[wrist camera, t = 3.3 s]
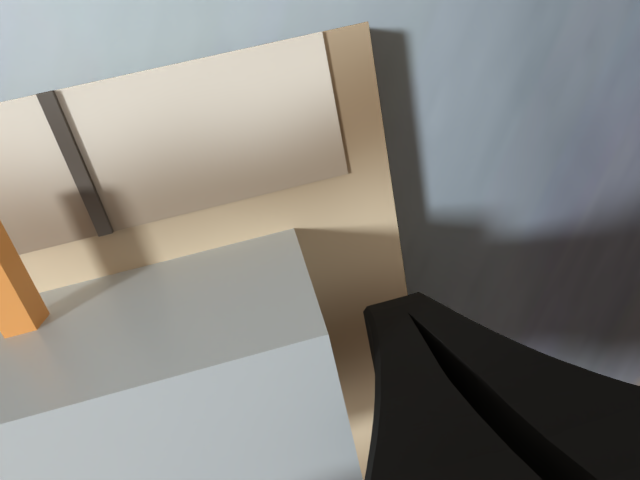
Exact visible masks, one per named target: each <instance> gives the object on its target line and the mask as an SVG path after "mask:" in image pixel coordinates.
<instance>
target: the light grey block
mask: <svg viewBox="0 0 640 480" xmlns="http://www.w3.org/2000/svg"><path fill="white" fill-rule="evenodd" d="M0 480H363V478H362V473H361V469H360V465H359V461H358V457H357V452H356V448H355V444H354V440H353V436H352V431H351V427H350V423H349V419H348V414H347V410H346V406H345V402H344V398H343V393H342V389H341V385H340V381H339V377H338V372H337V368H336V364H335V360H334V355H333V351H332V347H331V343H330V339H329V334H328V331H327V328H326V325H325V322H324V319H323V316H322V313H321V310H320V307H319V304H318V301H317V297H316V294H315V291H314V288H313V285H312V282H311V279H310V276H309V273H308V270H307V267H306V264H305V261H304V258H303V254H302V251H301V248H300V245H299V242H298V239H297V236H296V233H295V230H294V228H293V229H289V230H285V231H281V232H277V233H273V234H269V235H265V236H261V237H257V238H253V239H249V240H246V241H242V242H238V243H234V244H230V245H226V246H222V247H218V248H214V249H210V250H206V251H202V252H198V253H194V254H190V255H186V256H183V257H179V258H175V259H171V260H167V261H163V262H159V263H155V264H151V265H147V266H143V267H139V268H135V269H131V270H127V271H123V272H119V273H116V274H112V275H108V276H104V277H100V278H96V279H92V280H88V281H84V282H80V283H76V284H72V285H68V286H64V287H60V288H56V289H53V290H49V291H45V292H41V293H39V292H38V290H37V288H36V287H35V285H34V283H33V281H32V279H31V277H30V275H29V273H28V271H27V270H26V268H25V266H24V264H23V262H22V260H21V258H20V256H19V255H18V253H17V251H16V249H15V247H14V245H13V243H12V241H11V239H10V238H9V236H8V234H7V232H6V230H5V228H4V226H3V224H2V222H1V221H0Z"/></svg>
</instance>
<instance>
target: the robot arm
mask: <svg viewBox="0 0 640 480" xmlns="http://www.w3.org/2000/svg"><path fill="white" fill-rule="evenodd" d="M363 314H364V319H365V325H366V330H367V335H368V340H369V346H370V351H371V356H372V361H373V366H374V372H375V401H374V415H373V425H372V434H371V442H370V448H369V455H368V461H367V468H366V473H365V479H364V480H640V386H637V385H633V384H630V383H626V382H623V381H620V380H616V379H613V378H610V377H607V376H604V375H601V374H598V373H595V372H592V371H589V370H586V369H583V368H581V367H578V366H575V365H572V364H569V363H567V362H564V361H561V360H558V359H556V358H553V357H551V356H548V355H546V354H543V353H541V352H538V351H536V350H534V349H531V348H529V347H527V346H524V345H522V344H520V343H518V342H515V341H513V340H511V339H509V338H506V337H504V336H502V335H500V334H498V333H496V332H494V331H492V330H490V329H488V328H486V327H484V326H482V325H480V324H478V323H476V322H474V321H472V320H470V319H468V318H466V317H464V316H462V315H460V314H459V313H457V312H455V311H453V310H451V309H449V308H447V307H446V306H444V305H442V304H440V303H438V302H436V301H435V300H433V299H431V298H429V297H427V296H425V295H423V294H421V293H419V292H418V293H414V294H410V295H407V296H403V297H399V298H396V299H392V300H388V301H384V302H381V303H377V304H373V305H370V306H367V307H366V308H365V310H364V311H363Z"/></svg>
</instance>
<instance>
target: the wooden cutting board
mask: <svg viewBox="0 0 640 480" xmlns="http://www.w3.org/2000/svg"><path fill="white" fill-rule="evenodd" d="M0 221H1V222H2V224H3V226H4V228H5V230H6V232H7V234H8V236H9V238H10V239H11V241H12V243H13V245H14V247H15V249H16V251H17V253H18V255H19V256H20V258H21V260H22V262H23V264H24V266H25V268H26V270H27V271H28V273H29V275H30V277H31V279H32V281H33V283H34V285H35V287H36V288H37V290H38V292H39V293H41V292H45V291H49V290H53V289H56V288H60V287H64V286H68V285H72V284H76V283H80V282H84V281H88V280H92V279H96V278H100V277H104V276H108V275H112V274H116V273H119V272H123V271H127V270H131V269H135V268H139V267H143V266H147V265H151V264H155V263H159V262H163V261H167V260H171V259H175V258H179V257H183V256H186V255H190V254H194V253H198V252H202V251H206V250H210V249H214V248H218V247H222V246H226V245H230V244H234V243H238V242H242V241H246V240H249V239H253V238H257V237H261V236H265V235H269V234H273V233H277V232H281V231H285V230H289V229H293V228H294V230H295V233H296V236H297V239H298V242H299V245H300V248H301V251H302V254H303V258H304V261H305V264H306V267H307V270H308V273H309V276H310V279H311V282H312V285H313V288H314V291H315V294H316V297H317V301H318V304H319V307H320V310H321V313H322V316H323V319H324V322H325V325H326V328H327V331H328V334H329V339H330V343H331V347H332V351H333V355H334V360H335V364H336V368H337V372H338V377H339V381H340V385H341V389H342V393H343V398H344V402H345V406H346V410H347V414H348V419H349V423H350V427H351V431H352V436H353V440H354V444H355V448H356V452H357V457H358V461H359V465H360V469H361V473H362V478H363V480H364V479H365V473H366V468H367V461H368V455H369V448H370V442H371V434H372V425H373V415H374V401H375V372H374V366H373V361H372V356H371V351H370V346H369V340H368V335H367V330H366V325H365V319H364V314H363V311H364V310H365V308H366V307H367V306H370V305H373V304H377V303H381V302H384V301H388V300H392V299H396V298H399V297H403V296H407V295H408V294H407V287H406V280H405V273H404V266H403V259H402V252H401V245H400V238H399V231H398V224H397V217H396V211H395V204H394V197H393V190H392V183H391V176H390V169H389V162H388V155H387V148H386V141H385V134H384V127H383V120H382V114H381V107H380V100H379V93H378V86H377V79H376V72H375V65H374V58H373V51H372V44H371V37H370V30H369V24H368V22H364V23H359V24H355V25H350V26H346V27H341V28H337V29H332V30H328V31H323V32H318V33H313V34H308V35H304V36H299V37H295V38H290V39H286V40H281V41H277V42H272V43H268V44H263V45H258V46H254V47H249V48H245V49H240V50H236V51H231V52H227V53H222V54H218V55H213V56H208V57H204V58H199V59H195V60H190V61H186V62H181V63H177V64H172V65H168V66H163V67H158V68H154V69H149V70H145V71H140V72H136V73H131V74H127V75H122V76H118V77H113V78H109V79H104V80H99V81H95V82H90V83H86V84H81V85H77V86H72V87H68V88H63V89H59V90H54V91H48V92H44V93H39V94H36V95H31V96H27V97H22V98H18V99H13V100H9V101H4V102H0Z"/></svg>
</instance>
